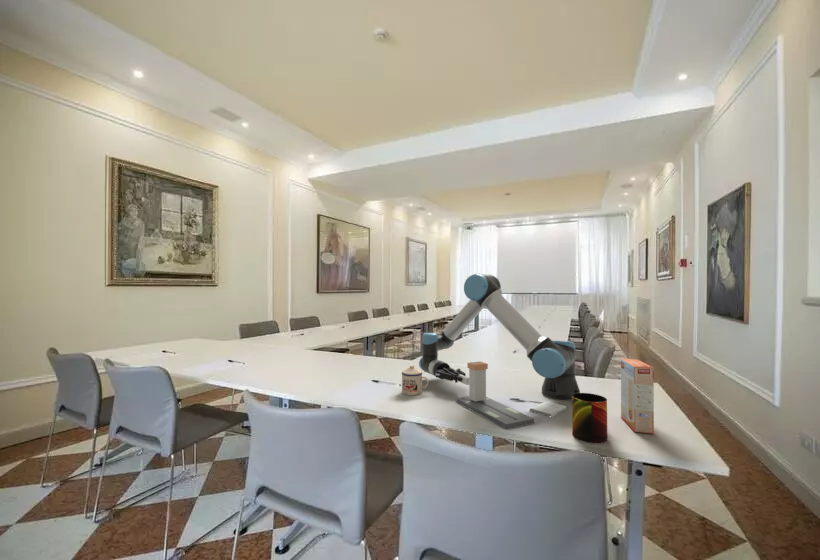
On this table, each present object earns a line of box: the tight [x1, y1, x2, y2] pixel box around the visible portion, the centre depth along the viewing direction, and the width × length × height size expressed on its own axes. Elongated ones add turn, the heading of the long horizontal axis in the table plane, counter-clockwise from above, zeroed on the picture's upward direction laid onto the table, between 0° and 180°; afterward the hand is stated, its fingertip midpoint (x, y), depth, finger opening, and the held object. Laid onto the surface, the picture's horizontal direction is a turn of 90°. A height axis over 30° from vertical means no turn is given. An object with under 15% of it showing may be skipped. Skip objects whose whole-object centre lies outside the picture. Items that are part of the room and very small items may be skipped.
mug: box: [571, 392, 608, 445], centre depth 112 cm, size 10×14×12 cm
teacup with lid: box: [401, 364, 430, 396], centre depth 156 cm, size 12×9×12 cm
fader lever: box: [467, 361, 489, 402], centre depth 140 cm, size 5×6×14 cm
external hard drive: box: [529, 401, 567, 418], centre depth 134 cm, size 2×8×12 cm
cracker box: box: [620, 358, 655, 435], centre depth 119 cm, size 14×6×21 cm, turn 164°
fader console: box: [455, 395, 535, 430], centre depth 132 cm, size 30×12×2 cm, turn 25°
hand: (468, 381), depth 146 cm, fingers closed
